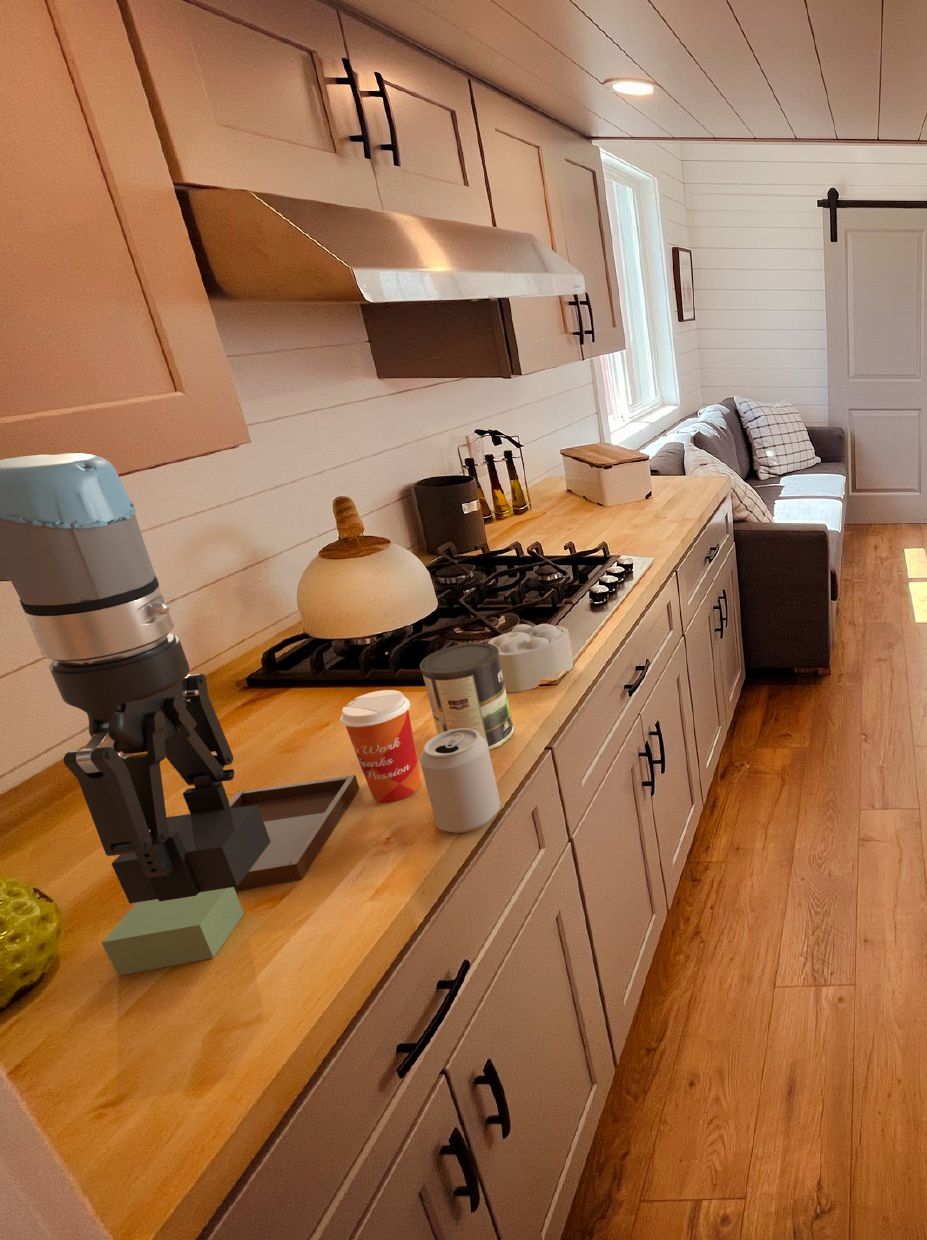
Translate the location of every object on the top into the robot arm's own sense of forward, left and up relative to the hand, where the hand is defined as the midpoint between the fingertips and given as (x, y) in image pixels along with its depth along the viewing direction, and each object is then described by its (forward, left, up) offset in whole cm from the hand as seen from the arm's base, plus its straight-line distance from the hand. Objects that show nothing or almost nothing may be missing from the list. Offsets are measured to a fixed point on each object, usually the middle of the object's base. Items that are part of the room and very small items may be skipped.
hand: (202, 868), depth 67 cm
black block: (0, 0, 0) cm, 0 cm away
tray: (-8, +23, -14) cm, 28 cm away
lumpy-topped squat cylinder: (+17, +61, -14) cm, 65 cm away
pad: (-9, +7, -14) cm, 18 cm away
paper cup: (+4, +30, -14) cm, 34 cm away
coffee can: (+12, +41, -14) cm, 45 cm away
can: (+15, +21, -14) cm, 30 cm away
